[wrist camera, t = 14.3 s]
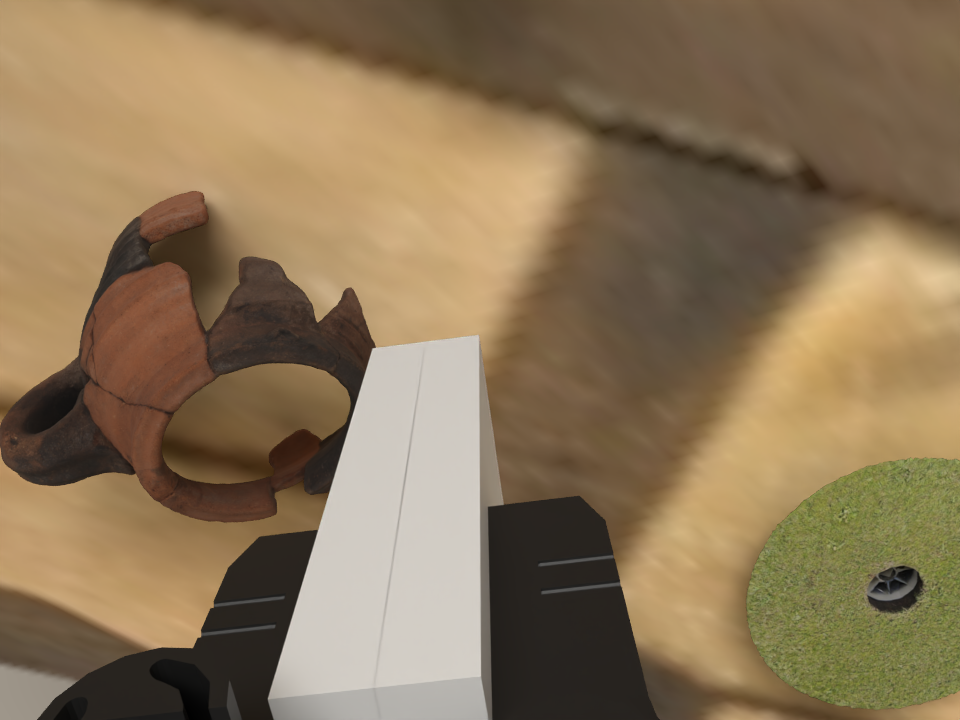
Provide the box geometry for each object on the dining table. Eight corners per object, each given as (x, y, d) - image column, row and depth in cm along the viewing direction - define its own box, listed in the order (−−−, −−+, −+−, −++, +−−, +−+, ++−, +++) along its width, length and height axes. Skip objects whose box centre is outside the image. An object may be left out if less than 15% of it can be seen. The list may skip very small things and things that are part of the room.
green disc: (907, 374, 31) (933, 397, 29) (1084, 555, 34) (1119, 586, 32) (673, 568, 34) (684, 600, 32) (853, 719, 37) (873, 756, 35)
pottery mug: (261, 119, 28) (324, 259, 22) (379, 311, 35) (450, 456, 29) (-74, 299, 27) (-97, 488, 22) (112, 458, 34) (131, 633, 29)
